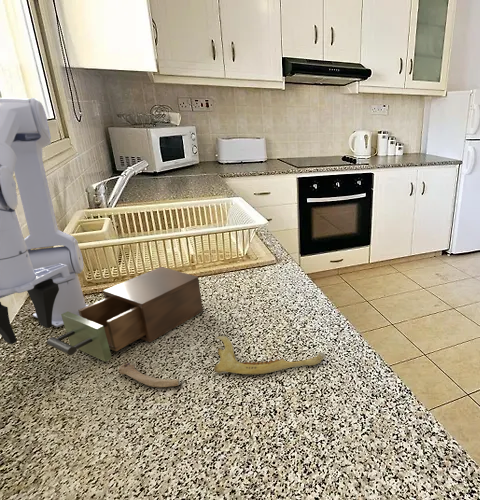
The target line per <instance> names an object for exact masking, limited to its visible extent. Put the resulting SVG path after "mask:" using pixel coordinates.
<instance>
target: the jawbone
mask: <svg viewBox="0 0 480 500" xmlns="http://www.w3.org/2000/svg"><path fill="white" fill-rule="evenodd" d="M216 340H220V341H221V342H222V343H223V346H224V349H222V348H221V347H220V348H218V349H217V353H218V354H217V355H218V356H219V362H218V363H216V364H215V365H214V367H213V371H214V372H216V373H218V374H220V373H233V374H239V375H265V374H270V373H274V372H278V371H282V370H286V369H290V368H295V367H302V366H309V367H310V366H315V365H318V364H321V363H322V361H323V360H325V358H326V354H325V353H324V352H322V351H319V352H318V353H317V354H316V356H313V357H311V358H307V359H302V360H298V361H297V360H296V361H287V360H285V359H284V358H282V357H281V358H280V359H277V358H275V359H274V360H273V359H270V360H269V361H267V360H261V361H258V360H257V361H254V360H253V361H247V360H246V361H243V362H240V361H238V360H237V358H236V355H235V352H234V346H233V343H232V342H231V340H230V339H229V337H228V336H226V335H220V336H217V337H216Z"/></svg>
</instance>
